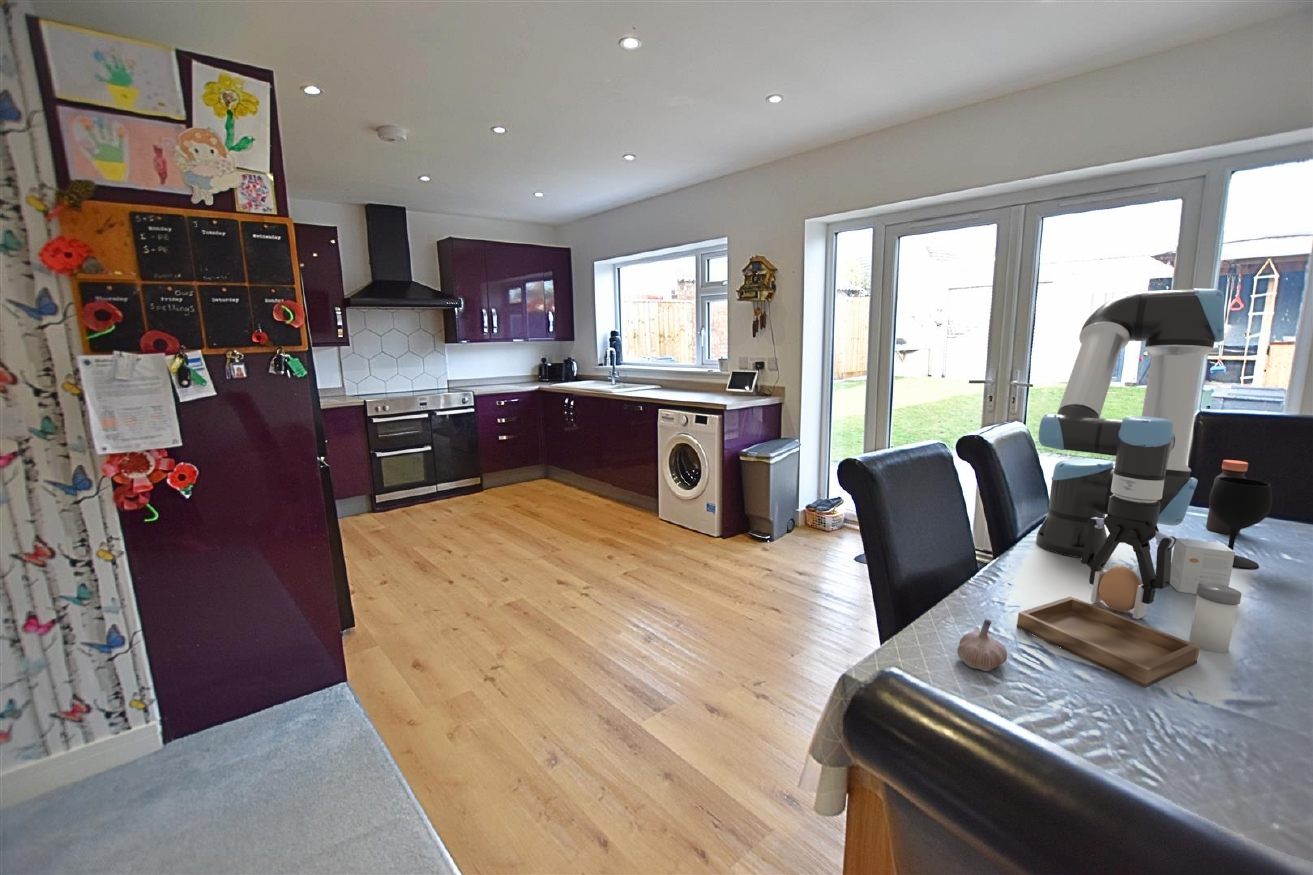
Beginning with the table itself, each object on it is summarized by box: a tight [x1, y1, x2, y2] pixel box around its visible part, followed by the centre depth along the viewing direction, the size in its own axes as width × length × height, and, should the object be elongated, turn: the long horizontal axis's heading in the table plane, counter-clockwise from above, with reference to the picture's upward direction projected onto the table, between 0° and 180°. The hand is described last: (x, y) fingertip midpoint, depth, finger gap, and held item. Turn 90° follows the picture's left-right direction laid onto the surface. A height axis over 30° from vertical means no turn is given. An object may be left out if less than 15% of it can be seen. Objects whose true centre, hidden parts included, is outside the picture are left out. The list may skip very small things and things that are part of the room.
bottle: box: [1205, 459, 1249, 535], centre depth 155 cm, size 7×7×20 cm
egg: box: [1099, 565, 1142, 612], centre depth 110 cm, size 7×7×9 cm
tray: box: [1016, 596, 1201, 688], centre depth 99 cm, size 20×16×3 cm
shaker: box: [1188, 582, 1243, 654], centre depth 98 cm, size 5×5×11 cm
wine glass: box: [1208, 477, 1274, 570], centre depth 134 cm, size 10×10×20 cm
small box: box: [1170, 537, 1236, 595], centre depth 119 cm, size 8×6×10 cm
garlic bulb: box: [956, 618, 1008, 672], centre depth 92 cm, size 8×7×8 cm
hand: (1117, 608), depth 111 cm, fingers closed on egg, 6 cm apart
